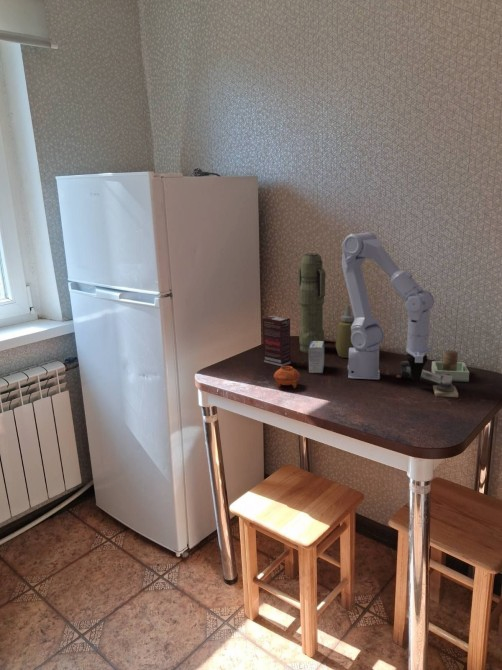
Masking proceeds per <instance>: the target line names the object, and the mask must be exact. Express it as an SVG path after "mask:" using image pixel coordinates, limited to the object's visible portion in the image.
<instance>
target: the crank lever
mask: <svg viewBox="0 0 502 670" xmlns="http://www.w3.org/2000/svg"><path fill="white" fill-rule="evenodd" d="M400 365H401V367H400V368H401V371H400V375H401V377H402V378H401V379H410V378H411V370H410V364H409V362H408V360H403V361H400ZM420 378H423V379H426V380H429V381H431V382H435V383H436V384H440V385H441V386H445V387H450V386H451V385H453V384H452V383H453V381H452V375H450V374H441V375H438V374H435V373H432V371H429V370H425V369H423V370H422V373H421V377H420Z"/></svg>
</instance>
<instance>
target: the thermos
mask: <svg viewBox="0 0 502 670" xmlns="http://www.w3.org/2000/svg"><path fill="white" fill-rule="evenodd" d="M324 269H325V268H323V260H322V256H321V255H320V254H319V253H305V254H303V255H302V258H301V261H300V267H299V269H298V295H299V299H298V300H299V301H298V303H299V305H300V330H299V334H298V335H299V337H298V339H299V341H298V342H299V351H300V352H301V353H306V354H309V347H310V344H311V341H324V342H325V331H324V329H323V327H324V326H323V322H324V321H323V319H324V318H323V316H324V313H323V309H324V308H323V307H324V306H323V305H324V303H325V296H326V272H325V270H324Z"/></svg>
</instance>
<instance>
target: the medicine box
mask: <svg viewBox="0 0 502 670" xmlns="http://www.w3.org/2000/svg"><path fill="white" fill-rule="evenodd" d="M324 368H325V340H324V341H311V344H310V347H309V353H308V372H309V373H311V374H323V373H324Z"/></svg>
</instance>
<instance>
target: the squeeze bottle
mask: <svg viewBox="0 0 502 670" xmlns="http://www.w3.org/2000/svg"><path fill="white" fill-rule="evenodd" d="M354 320H355V319H354V315H353V314H352V313H351V305H348V304H347V305H345V309H344V313H343V315H341V316H340V321H339V322H338V323H337V331H336V339H335V348H336V352H337V355H338V356H339V357H340V358H344V359H345V358H346V359H349V348H354V346H353V344H352V342H351V335H352V331H351V326H352V324H353V322H354Z"/></svg>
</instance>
